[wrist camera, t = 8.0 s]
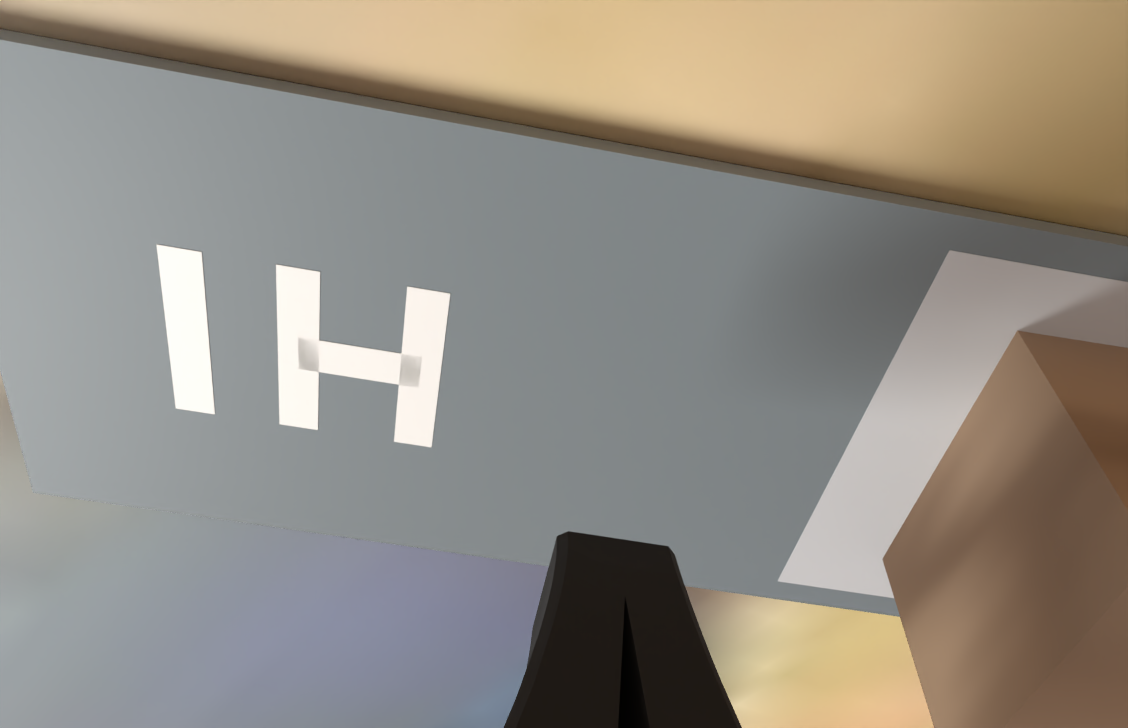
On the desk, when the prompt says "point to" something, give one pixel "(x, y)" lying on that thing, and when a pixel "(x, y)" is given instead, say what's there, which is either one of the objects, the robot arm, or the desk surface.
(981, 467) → the walnut block
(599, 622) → the robot arm
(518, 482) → the board
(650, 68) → the desk surface
